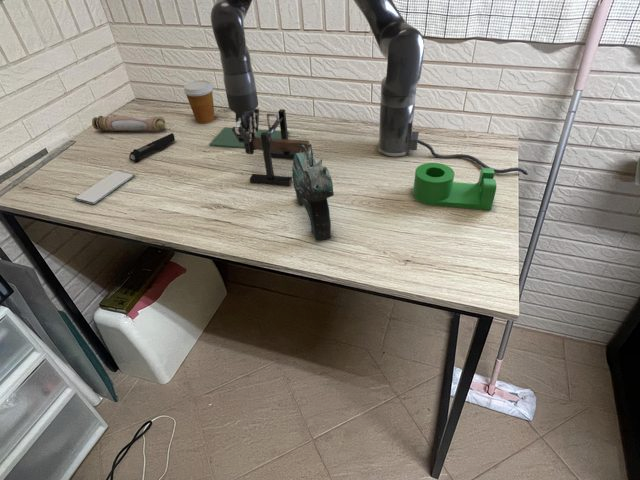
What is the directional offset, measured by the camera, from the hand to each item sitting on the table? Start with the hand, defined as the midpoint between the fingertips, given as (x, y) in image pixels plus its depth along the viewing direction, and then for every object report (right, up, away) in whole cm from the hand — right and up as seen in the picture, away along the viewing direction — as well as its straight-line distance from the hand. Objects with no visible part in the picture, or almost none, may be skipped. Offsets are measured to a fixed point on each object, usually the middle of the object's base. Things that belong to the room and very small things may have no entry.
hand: (251, 151), depth 117 cm
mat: (-3, +7, +17) cm, 18 cm away
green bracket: (+51, -14, -13) cm, 54 cm away
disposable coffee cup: (-21, +17, +30) cm, 40 cm away
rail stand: (+8, -5, +2) cm, 9 cm away
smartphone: (-39, -10, -1) cm, 41 cm away
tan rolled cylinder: (-44, +14, +24) cm, 52 cm away
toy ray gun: (+17, -20, -17) cm, 31 cm away
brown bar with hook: (+7, 0, -2) cm, 8 cm away
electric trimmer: (-32, +3, +14) cm, 35 cm away
